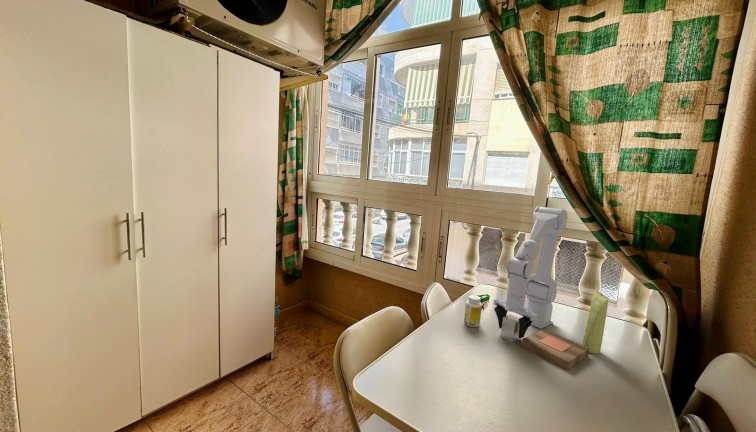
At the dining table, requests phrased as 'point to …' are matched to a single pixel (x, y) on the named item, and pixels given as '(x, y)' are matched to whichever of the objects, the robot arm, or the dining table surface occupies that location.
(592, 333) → the tube
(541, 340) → the board
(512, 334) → the steel column
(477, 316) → the supplement bottle
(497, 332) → the dining table surface
